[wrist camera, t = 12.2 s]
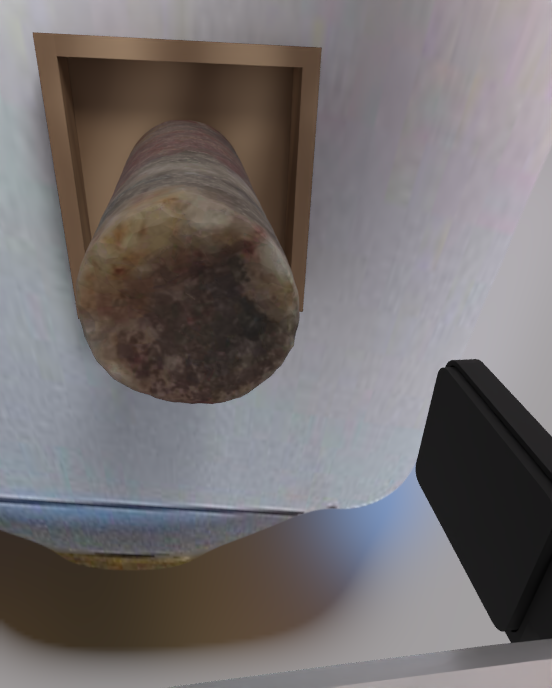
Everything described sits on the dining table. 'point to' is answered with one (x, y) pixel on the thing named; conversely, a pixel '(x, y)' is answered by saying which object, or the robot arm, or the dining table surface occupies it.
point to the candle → (186, 273)
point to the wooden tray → (180, 104)
